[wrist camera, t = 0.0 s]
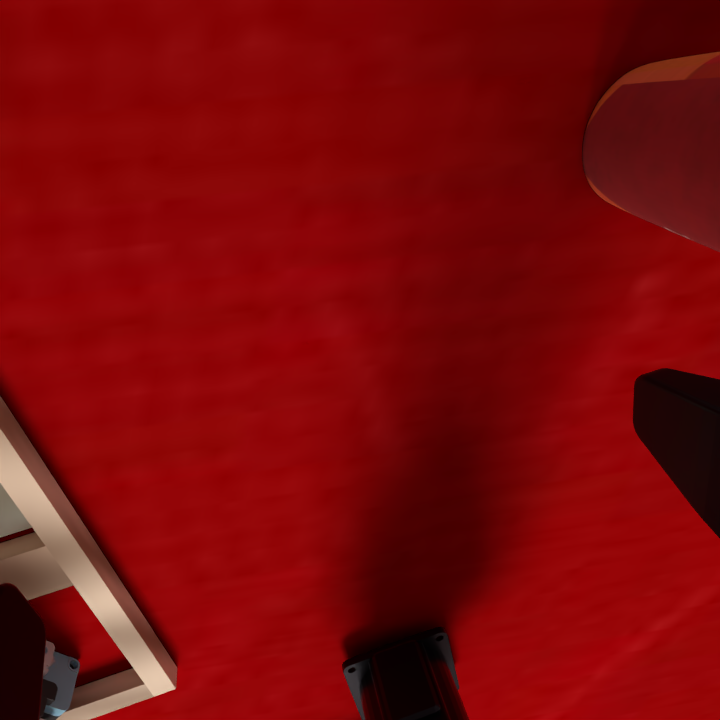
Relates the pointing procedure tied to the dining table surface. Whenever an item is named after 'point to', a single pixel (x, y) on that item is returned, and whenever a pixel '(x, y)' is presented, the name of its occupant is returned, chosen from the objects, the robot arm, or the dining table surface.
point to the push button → (57, 683)
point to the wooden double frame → (72, 575)
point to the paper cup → (661, 146)
